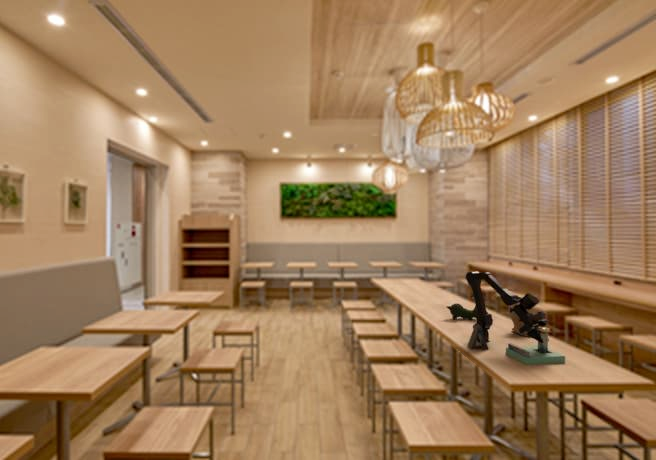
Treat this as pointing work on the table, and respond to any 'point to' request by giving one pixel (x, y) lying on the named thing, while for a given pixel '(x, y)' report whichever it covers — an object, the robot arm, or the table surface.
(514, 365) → the table surface
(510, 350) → the jig
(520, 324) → the tan boot
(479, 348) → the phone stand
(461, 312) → the toy figurine
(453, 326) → the table surface
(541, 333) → the metal peg
